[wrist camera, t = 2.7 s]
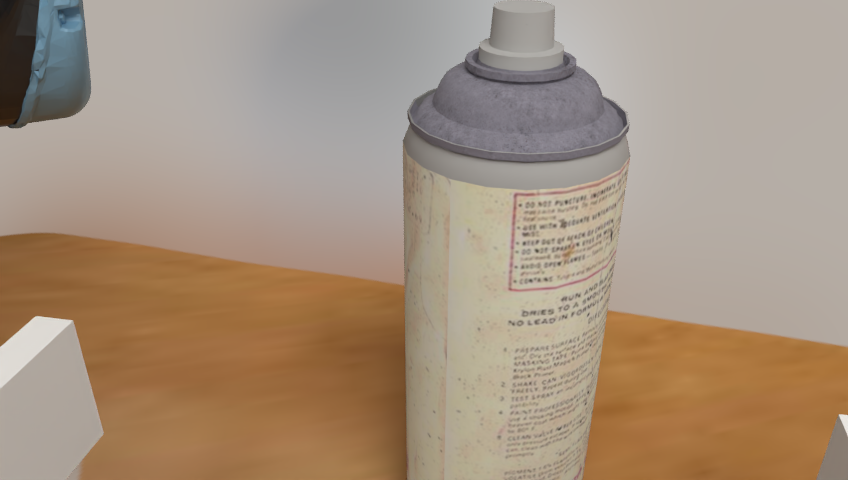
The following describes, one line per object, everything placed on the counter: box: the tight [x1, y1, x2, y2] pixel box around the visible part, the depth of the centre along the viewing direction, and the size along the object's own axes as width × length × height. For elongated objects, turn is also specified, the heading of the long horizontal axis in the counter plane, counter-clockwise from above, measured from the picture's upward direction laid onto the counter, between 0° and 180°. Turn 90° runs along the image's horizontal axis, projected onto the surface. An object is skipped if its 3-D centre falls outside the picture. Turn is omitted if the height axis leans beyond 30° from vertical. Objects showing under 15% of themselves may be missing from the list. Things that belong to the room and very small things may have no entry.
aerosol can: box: [403, 0, 630, 480], centre depth 26 cm, size 7×7×20 cm
